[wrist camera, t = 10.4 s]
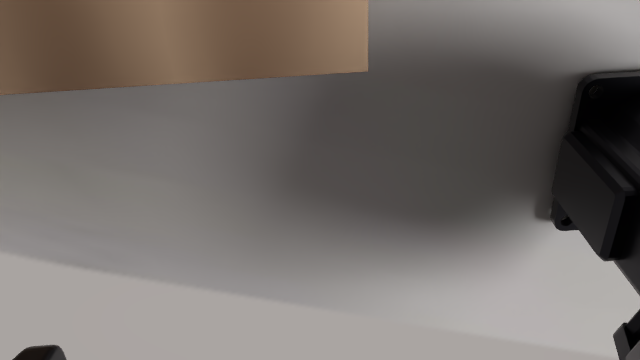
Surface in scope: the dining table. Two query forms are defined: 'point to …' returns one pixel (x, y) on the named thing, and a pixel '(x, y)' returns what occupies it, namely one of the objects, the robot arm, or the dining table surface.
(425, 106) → the dining table surface
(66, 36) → the walnut socket block
